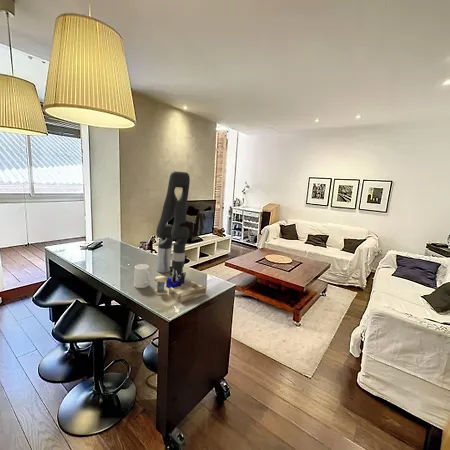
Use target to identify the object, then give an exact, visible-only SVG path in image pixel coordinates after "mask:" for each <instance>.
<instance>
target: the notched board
mask: <svg viewBox="0 0 450 450" xmlns="http://www.w3.org/2000/svg"><path fill="white" fill-rule="evenodd" d="M206 293H207V287H205V286H204V285H202V284H199V282H196V281H194V280H192V281H190V285H189V286H187V287H184V288H180V289H176V288H172V287H171V288H168V296H169V297H171V298H173V299H174V300H176V301H177V302H179V303H180V304H183V303H185V302H188V301H191V300H194V299H197V298H198V297H199V298H200V297H201V296H204V295H206Z"/></svg>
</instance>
